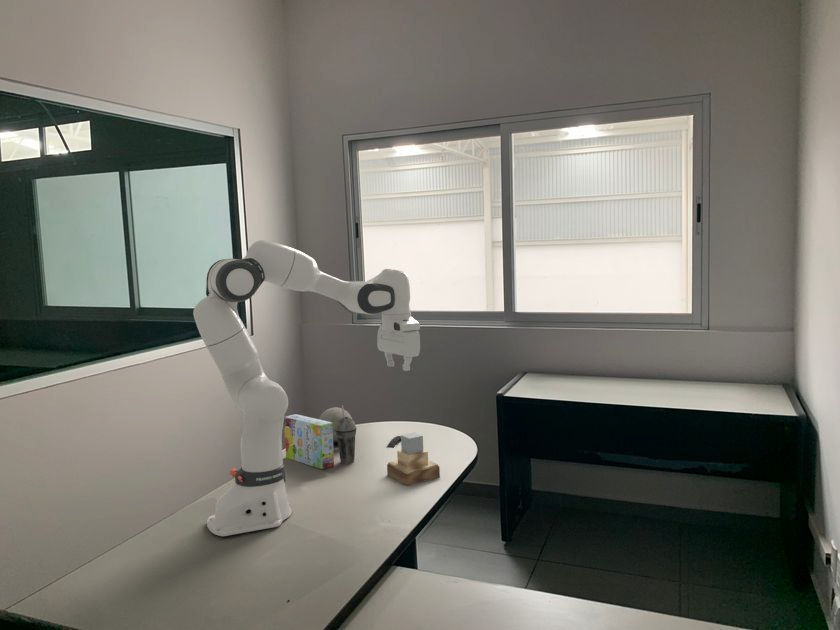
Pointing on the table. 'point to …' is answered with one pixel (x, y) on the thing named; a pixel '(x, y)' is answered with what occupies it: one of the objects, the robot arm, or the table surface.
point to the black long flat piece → (393, 442)
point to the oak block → (412, 459)
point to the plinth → (413, 472)
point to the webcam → (334, 421)
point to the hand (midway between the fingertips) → (398, 368)
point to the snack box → (309, 441)
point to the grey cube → (412, 443)
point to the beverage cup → (346, 439)
